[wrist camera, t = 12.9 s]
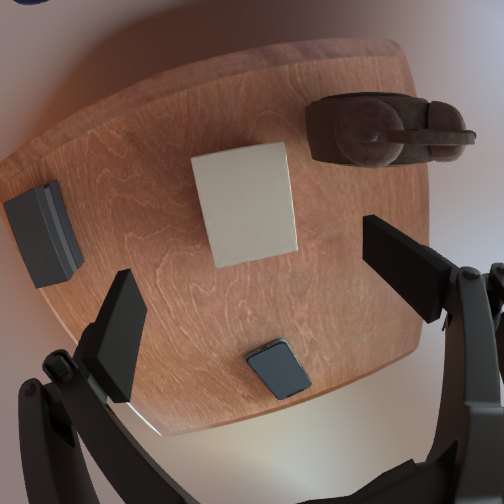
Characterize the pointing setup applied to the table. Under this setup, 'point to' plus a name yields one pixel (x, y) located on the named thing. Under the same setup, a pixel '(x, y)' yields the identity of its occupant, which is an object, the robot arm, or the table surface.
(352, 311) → the table surface
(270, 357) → the smartphone
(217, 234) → the light grey rectangular slab
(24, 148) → the table surface
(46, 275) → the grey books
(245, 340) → the table surface
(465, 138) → the alarm clock
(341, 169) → the table surface
